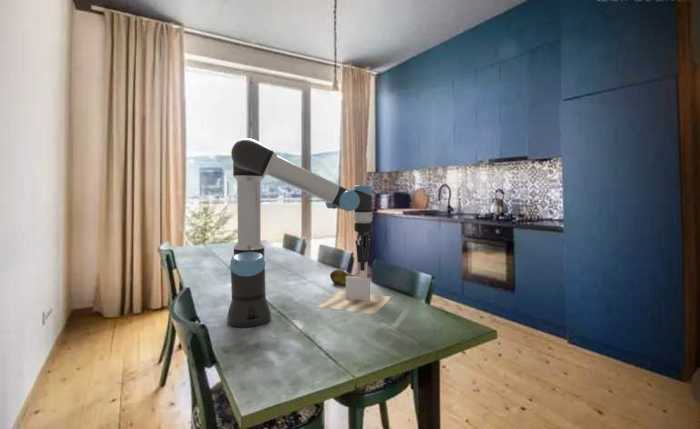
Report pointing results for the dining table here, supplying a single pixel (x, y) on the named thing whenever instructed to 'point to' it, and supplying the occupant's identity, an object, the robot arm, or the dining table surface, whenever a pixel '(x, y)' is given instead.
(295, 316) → the dining table surface
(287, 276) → the dining table surface
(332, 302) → the board
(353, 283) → the tile
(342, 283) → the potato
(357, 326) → the dining table surface
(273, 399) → the dining table surface
